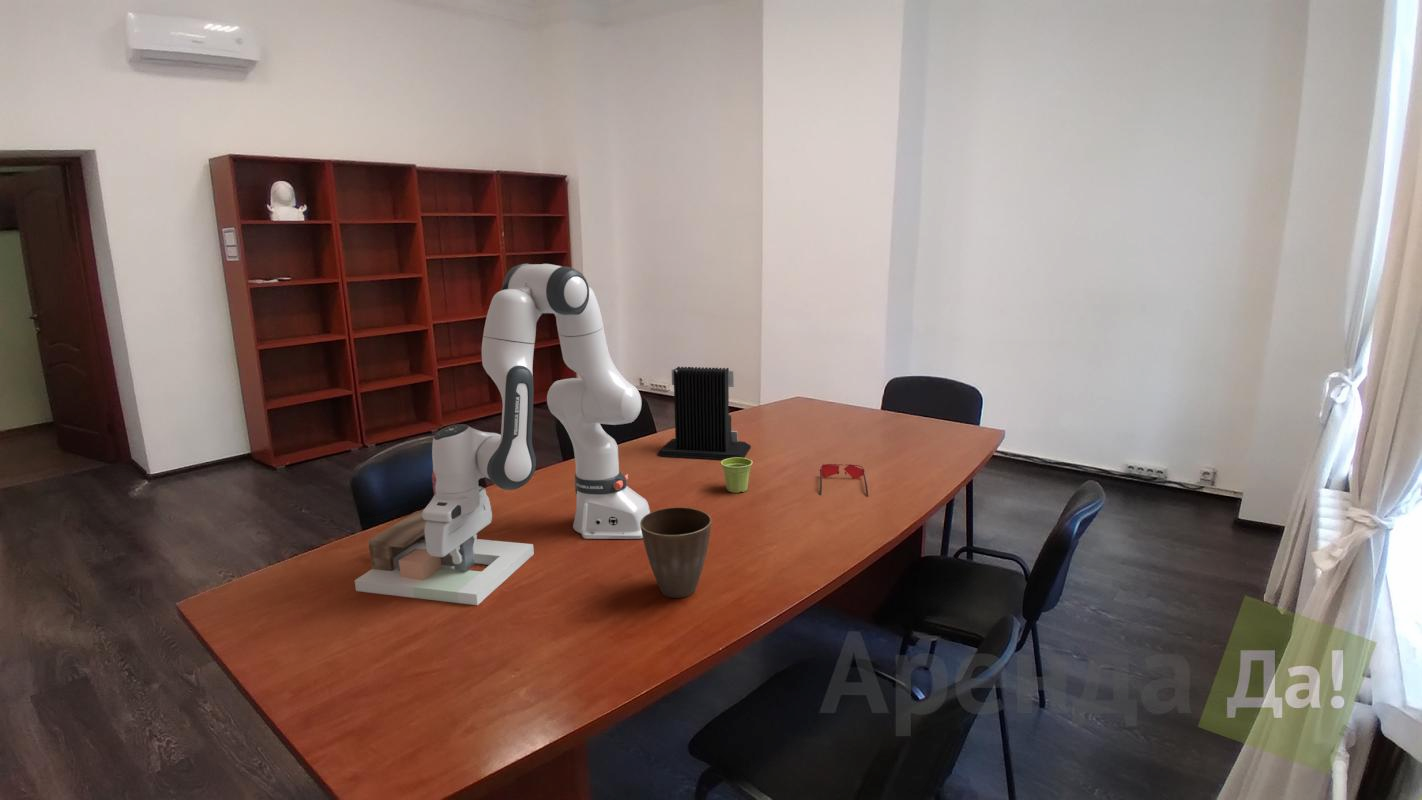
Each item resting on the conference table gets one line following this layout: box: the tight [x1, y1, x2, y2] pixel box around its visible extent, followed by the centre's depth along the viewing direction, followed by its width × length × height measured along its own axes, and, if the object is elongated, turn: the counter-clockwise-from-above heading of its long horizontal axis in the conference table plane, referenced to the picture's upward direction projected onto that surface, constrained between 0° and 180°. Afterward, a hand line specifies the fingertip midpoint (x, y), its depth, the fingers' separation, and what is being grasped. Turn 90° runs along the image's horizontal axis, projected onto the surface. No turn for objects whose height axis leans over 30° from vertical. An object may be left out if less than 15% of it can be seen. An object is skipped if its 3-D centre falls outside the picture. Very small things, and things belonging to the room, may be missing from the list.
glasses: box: [819, 463, 869, 498], centre depth 215 cm, size 14×16×5 cm
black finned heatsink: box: [657, 366, 752, 461], centre depth 249 cm, size 30×19×30 cm, turn 77°
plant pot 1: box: [640, 507, 712, 599], centre depth 153 cm, size 15×15×16 cm
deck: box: [354, 538, 535, 606], centre depth 164 cm, size 30×25×2 cm
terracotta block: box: [399, 549, 442, 580], centre depth 158 cm, size 6×6×4 cm
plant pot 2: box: [720, 457, 753, 494], centre depth 213 cm, size 9×9×9 cm
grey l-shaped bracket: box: [398, 538, 475, 571], centre depth 159 cm, size 14×7×8 cm, turn 74°
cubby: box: [367, 510, 427, 571], centre depth 167 cm, size 9×18×7 cm, turn 166°
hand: (464, 558), depth 159 cm, fingers closed on grey l-shaped bracket, 3 cm apart
